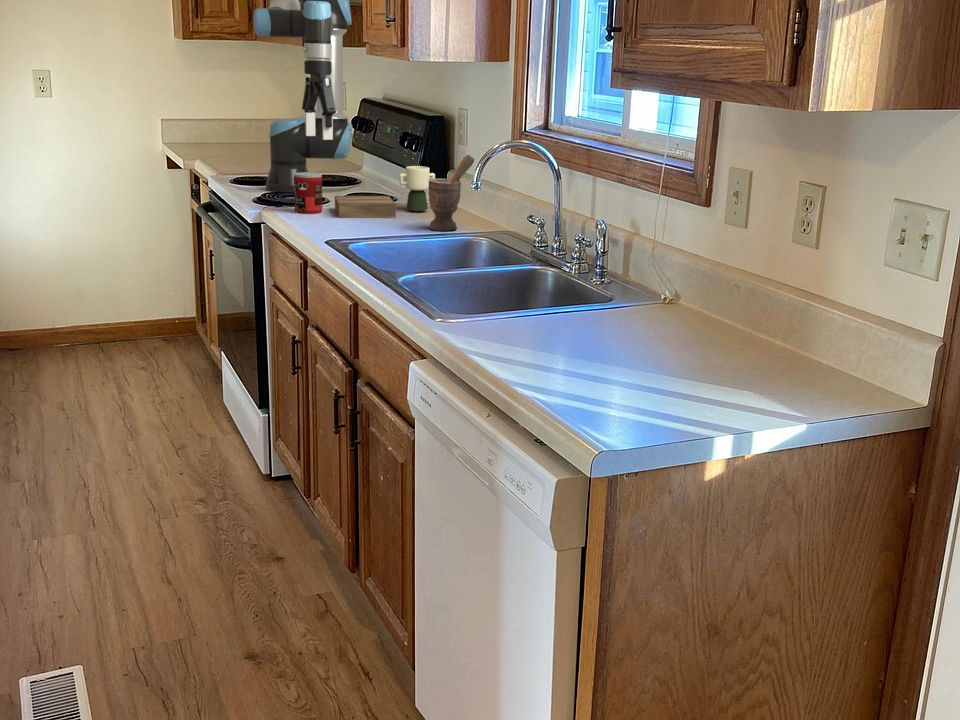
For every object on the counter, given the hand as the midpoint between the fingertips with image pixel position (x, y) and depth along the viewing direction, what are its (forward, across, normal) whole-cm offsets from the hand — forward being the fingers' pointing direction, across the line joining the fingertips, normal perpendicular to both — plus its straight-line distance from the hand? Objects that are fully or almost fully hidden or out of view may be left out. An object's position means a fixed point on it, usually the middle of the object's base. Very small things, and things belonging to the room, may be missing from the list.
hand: (318, 137), depth 286 cm
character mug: (+21, +7, +28) cm, 36 cm away
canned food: (+21, -2, -3) cm, 22 cm away
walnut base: (+21, +6, +12) cm, 25 cm away
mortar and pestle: (+22, +38, +23) cm, 49 cm away
